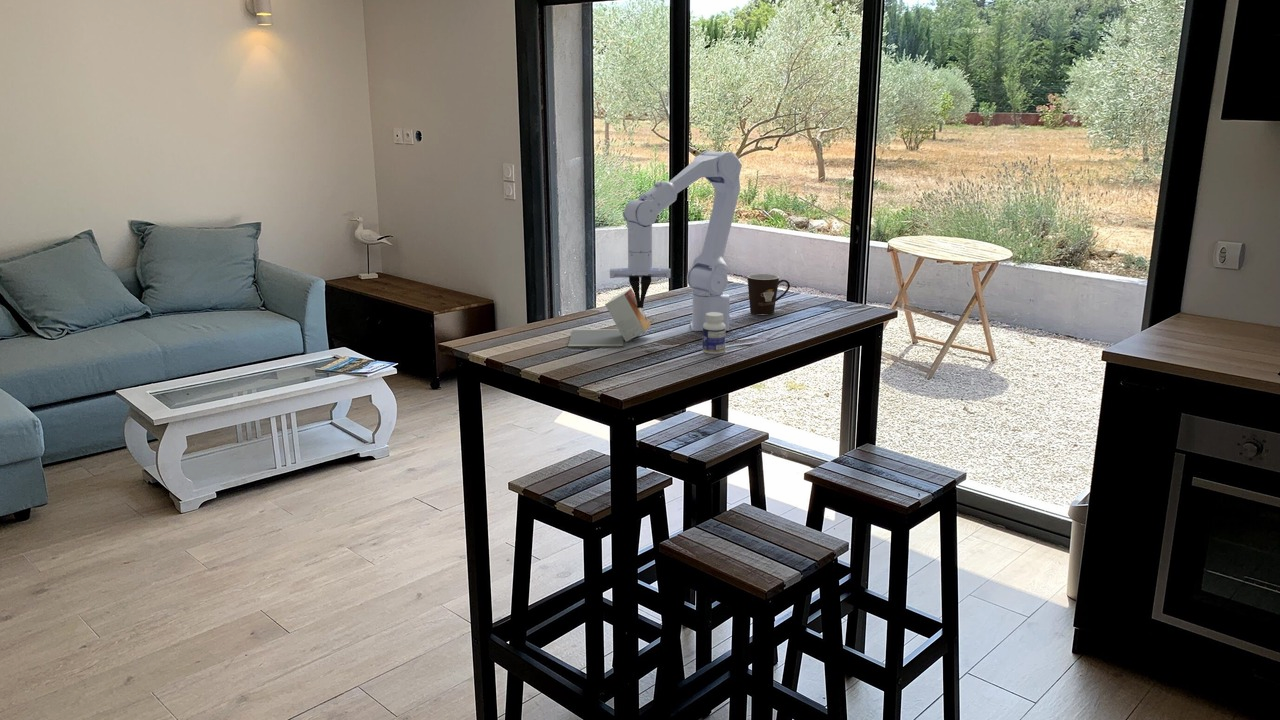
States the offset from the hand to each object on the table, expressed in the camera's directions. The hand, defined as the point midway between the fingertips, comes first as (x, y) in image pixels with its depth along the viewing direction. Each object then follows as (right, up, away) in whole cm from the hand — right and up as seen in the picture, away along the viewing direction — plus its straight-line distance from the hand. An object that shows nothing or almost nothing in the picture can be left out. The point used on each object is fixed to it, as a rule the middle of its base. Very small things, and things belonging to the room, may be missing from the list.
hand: (640, 307), depth 223 cm
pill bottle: (+17, -11, -9) cm, 22 cm away
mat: (-11, -8, +2) cm, 13 cm away
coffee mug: (+35, 0, +29) cm, 46 cm away
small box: (0, -7, +2) cm, 7 cm away
